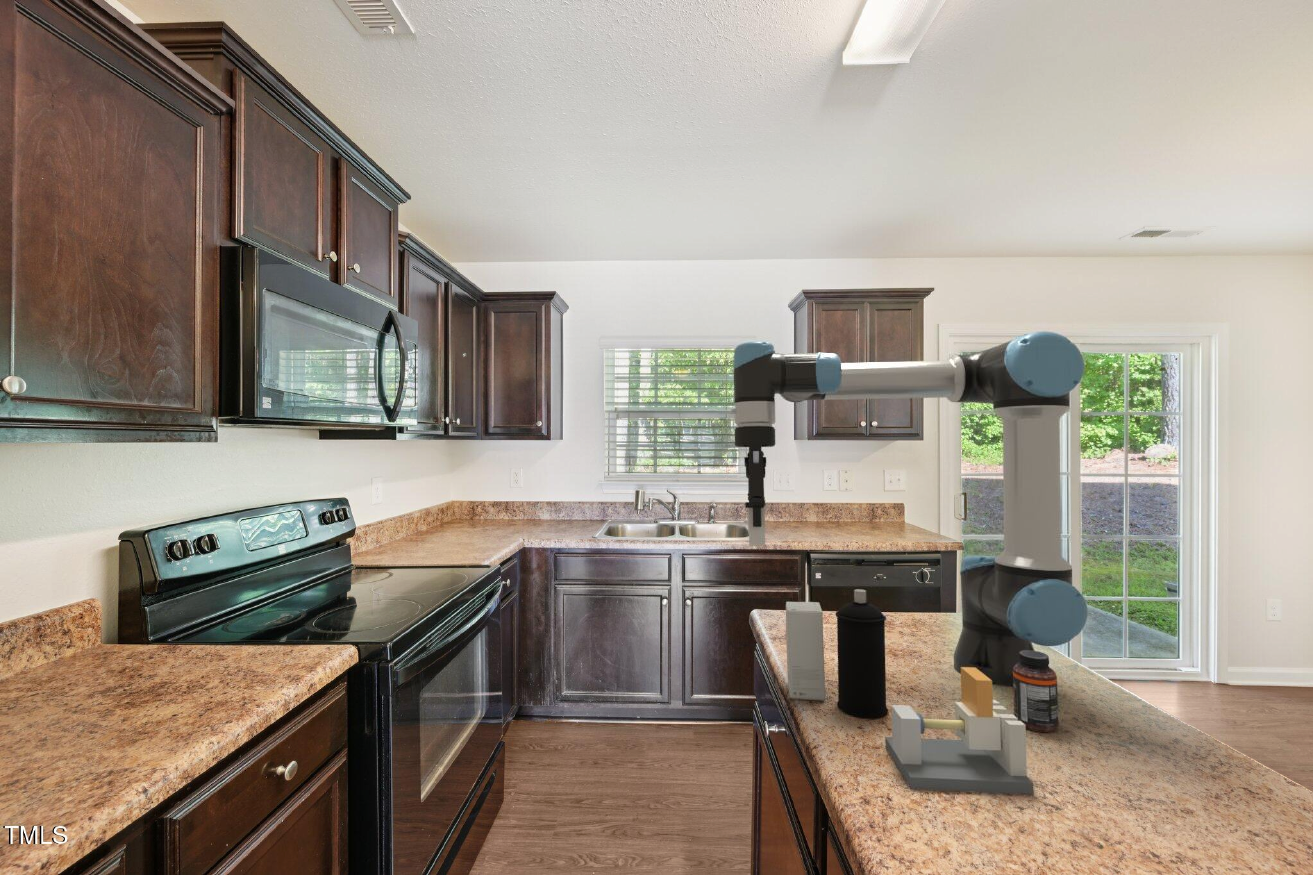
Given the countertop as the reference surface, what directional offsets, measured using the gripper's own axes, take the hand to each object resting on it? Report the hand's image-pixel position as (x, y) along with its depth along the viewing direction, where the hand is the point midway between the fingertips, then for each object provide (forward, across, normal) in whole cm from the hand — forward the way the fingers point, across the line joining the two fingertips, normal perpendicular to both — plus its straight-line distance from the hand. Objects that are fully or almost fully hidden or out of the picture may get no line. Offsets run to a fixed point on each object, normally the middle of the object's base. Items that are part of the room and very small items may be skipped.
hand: (756, 540), depth 108 cm
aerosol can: (+28, +5, +17) cm, 33 cm away
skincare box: (+28, -1, +8) cm, 29 cm away
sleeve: (+24, +24, +29) cm, 44 cm away
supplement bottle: (+28, +8, +44) cm, 52 cm away
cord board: (+28, +24, +26) cm, 45 cm away
